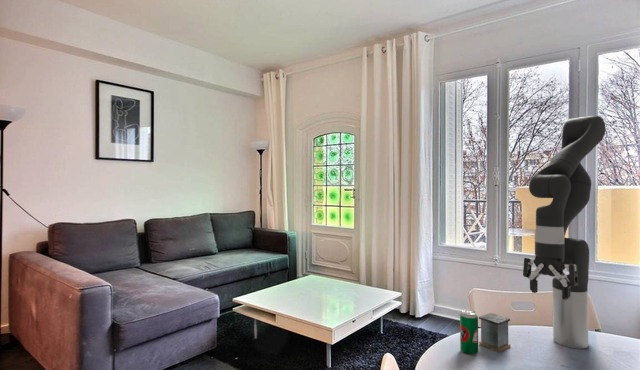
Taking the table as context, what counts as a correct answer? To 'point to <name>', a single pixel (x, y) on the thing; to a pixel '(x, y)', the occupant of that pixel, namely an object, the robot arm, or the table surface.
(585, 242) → the robot arm
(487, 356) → the table surface
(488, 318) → the service unit
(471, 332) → the soda can
